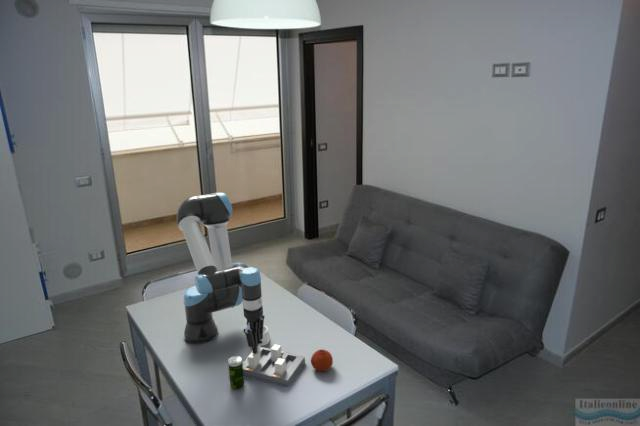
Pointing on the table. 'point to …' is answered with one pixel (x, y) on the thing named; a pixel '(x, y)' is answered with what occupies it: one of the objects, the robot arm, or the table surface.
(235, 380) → the beer can
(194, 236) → the robot arm
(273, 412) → the table surface
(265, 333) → the mug
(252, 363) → the white rectangular block
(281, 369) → the tab
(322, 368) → the fruit
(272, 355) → the white cuboid
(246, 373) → the switch board
